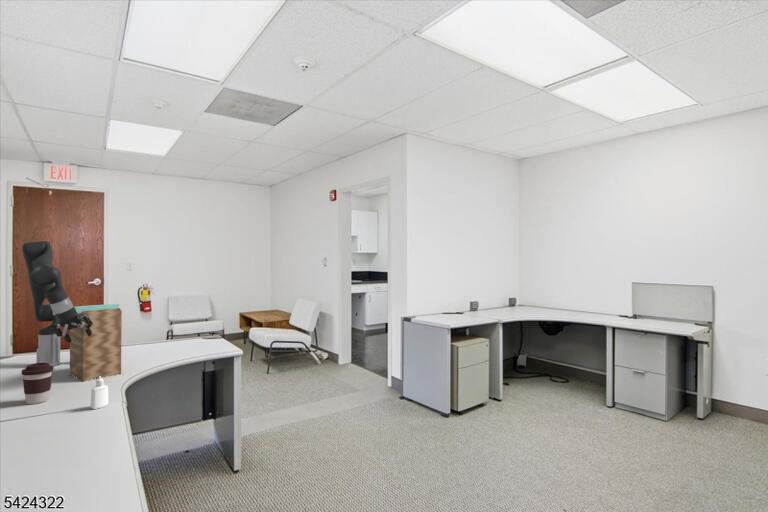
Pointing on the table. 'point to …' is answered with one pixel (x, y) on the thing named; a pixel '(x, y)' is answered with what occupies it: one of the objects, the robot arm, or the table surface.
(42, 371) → the coffee cup
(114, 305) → the block
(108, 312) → the stand
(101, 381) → the eye dropper bottle
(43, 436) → the table surface
